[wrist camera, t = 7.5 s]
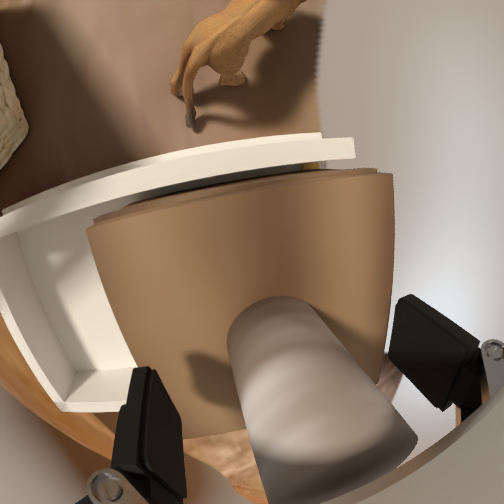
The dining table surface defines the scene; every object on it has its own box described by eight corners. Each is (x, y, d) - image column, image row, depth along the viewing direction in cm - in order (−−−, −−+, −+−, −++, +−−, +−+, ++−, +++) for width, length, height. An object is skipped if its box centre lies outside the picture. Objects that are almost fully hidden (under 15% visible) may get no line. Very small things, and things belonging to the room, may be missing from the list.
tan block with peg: (178, 358, 19) (189, 548, 5) (130, 200, 15) (-62, 331, 1) (327, 321, 21) (442, 460, 7) (316, 166, 17) (547, 196, 3)
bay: (78, 380, 20) (65, 416, 15) (8, 208, 14) (-30, 220, 10) (329, 332, 23) (355, 364, 19) (315, 133, 18) (351, 125, 13)
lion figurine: (242, -23, 13) (270, -92, 4) (301, 1, 14) (353, -57, 6) (155, 117, 16) (123, 74, 7) (228, 144, 17) (259, 120, 9)
